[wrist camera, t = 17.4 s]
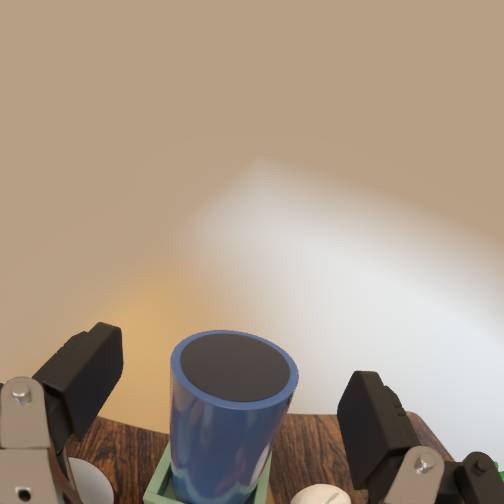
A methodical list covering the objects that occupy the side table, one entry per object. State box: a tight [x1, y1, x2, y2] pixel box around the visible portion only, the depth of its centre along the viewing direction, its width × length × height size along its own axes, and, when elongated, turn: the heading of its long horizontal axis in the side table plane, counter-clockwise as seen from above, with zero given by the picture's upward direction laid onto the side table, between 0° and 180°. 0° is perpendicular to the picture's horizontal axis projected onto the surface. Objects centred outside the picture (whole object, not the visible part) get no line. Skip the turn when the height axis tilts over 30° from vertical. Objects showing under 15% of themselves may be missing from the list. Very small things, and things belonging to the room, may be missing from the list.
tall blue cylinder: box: [170, 330, 299, 504], centre depth 15 cm, size 6×6×14 cm
